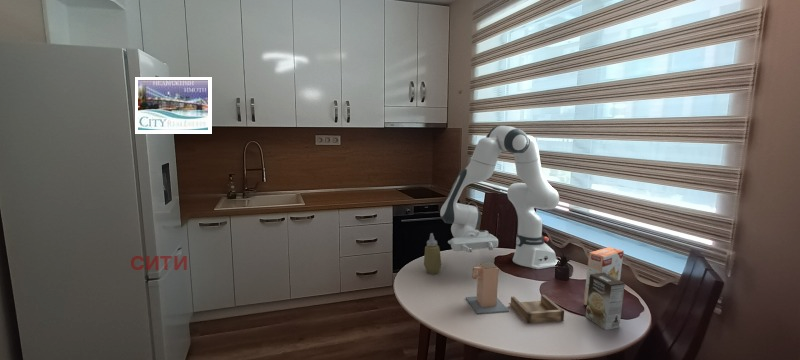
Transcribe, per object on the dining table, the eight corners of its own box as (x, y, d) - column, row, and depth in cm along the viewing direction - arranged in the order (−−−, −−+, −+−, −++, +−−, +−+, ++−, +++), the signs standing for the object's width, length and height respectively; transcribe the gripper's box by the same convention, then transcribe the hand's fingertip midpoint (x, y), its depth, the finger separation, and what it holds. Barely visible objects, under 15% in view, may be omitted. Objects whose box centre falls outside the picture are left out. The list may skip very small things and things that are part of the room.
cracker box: (598, 311, 133) (604, 256, 130) (582, 304, 138) (587, 251, 135) (618, 302, 140) (624, 250, 137) (603, 296, 145) (608, 245, 142)
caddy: (540, 301, 140) (541, 292, 140) (563, 321, 126) (564, 311, 126) (508, 303, 138) (508, 294, 137) (527, 324, 124) (528, 313, 123)
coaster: (494, 296, 143) (495, 295, 143) (508, 311, 131) (509, 310, 131) (465, 298, 141) (465, 297, 141) (477, 314, 129) (477, 312, 129)
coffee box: (584, 316, 129) (588, 273, 127) (598, 314, 131) (603, 271, 128) (605, 330, 120) (610, 284, 118) (620, 327, 122) (626, 282, 120)
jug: (490, 298, 140) (492, 262, 138) (496, 305, 134) (498, 267, 132) (468, 300, 138) (470, 263, 136) (474, 307, 133) (476, 269, 131)
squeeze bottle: (440, 275, 162) (439, 236, 159) (422, 274, 163) (421, 236, 161) (442, 268, 169) (441, 231, 167) (425, 267, 171) (424, 230, 169)
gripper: (446, 233, 161) (456, 244, 147) (490, 230, 164) (504, 240, 151) (446, 247, 162) (456, 259, 149) (490, 243, 165) (503, 254, 152)
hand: (480, 249), depth 150 cm, fingers open, 8 cm apart
